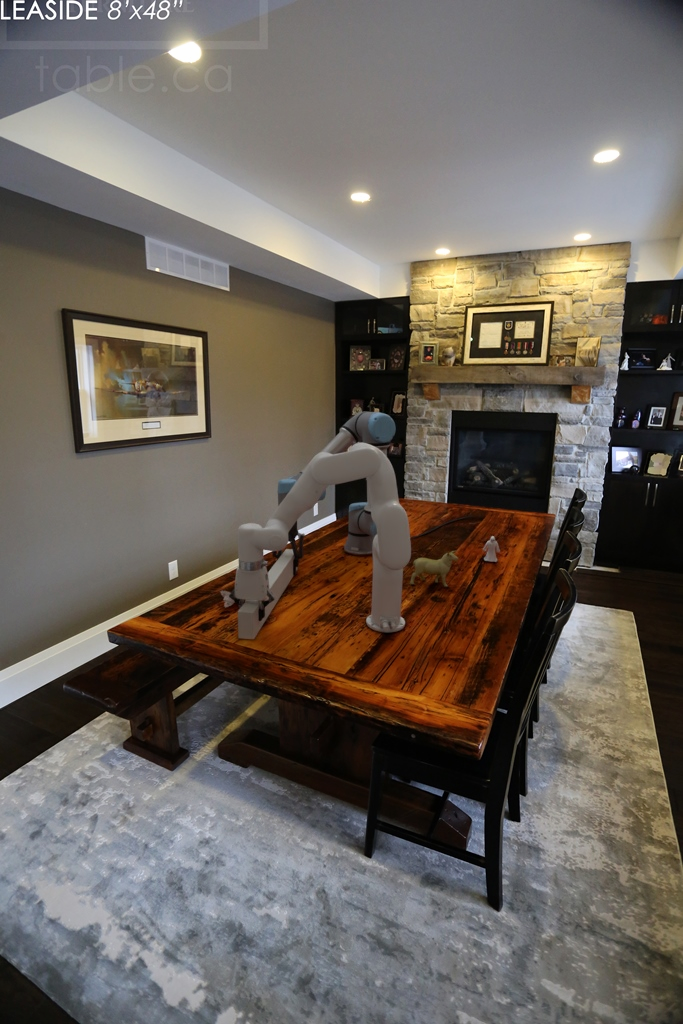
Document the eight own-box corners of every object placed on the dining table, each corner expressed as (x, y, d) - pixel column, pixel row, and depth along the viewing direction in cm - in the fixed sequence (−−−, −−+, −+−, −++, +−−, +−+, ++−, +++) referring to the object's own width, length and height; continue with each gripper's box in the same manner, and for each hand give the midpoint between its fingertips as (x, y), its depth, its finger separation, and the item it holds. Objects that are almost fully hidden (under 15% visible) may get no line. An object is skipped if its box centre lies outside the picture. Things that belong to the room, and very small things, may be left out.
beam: (253, 639, 151) (253, 612, 149) (238, 638, 152) (237, 611, 150) (297, 569, 210) (297, 549, 208) (286, 568, 210) (286, 548, 208)
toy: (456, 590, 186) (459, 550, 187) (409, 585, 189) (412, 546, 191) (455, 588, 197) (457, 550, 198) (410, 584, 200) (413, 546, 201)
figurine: (481, 562, 222) (483, 536, 219) (482, 556, 230) (484, 531, 227) (499, 564, 220) (501, 538, 217) (499, 558, 228) (501, 533, 225)
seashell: (226, 615, 174) (211, 598, 174) (236, 605, 178) (222, 588, 177) (235, 611, 168) (219, 593, 168) (245, 600, 172) (230, 583, 171)
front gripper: (281, 561, 155) (281, 615, 160) (228, 558, 157) (230, 611, 162) (275, 570, 148) (275, 626, 152) (220, 566, 150) (222, 621, 155)
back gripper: (311, 517, 200) (311, 571, 206) (268, 514, 202) (269, 569, 208) (308, 522, 193) (307, 578, 199) (263, 519, 195) (264, 575, 201)
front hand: (252, 618), depth 157 cm, fingers closed on beam, 4 cm apart
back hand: (288, 573), depth 203 cm, fingers closed on beam, 5 cm apart
